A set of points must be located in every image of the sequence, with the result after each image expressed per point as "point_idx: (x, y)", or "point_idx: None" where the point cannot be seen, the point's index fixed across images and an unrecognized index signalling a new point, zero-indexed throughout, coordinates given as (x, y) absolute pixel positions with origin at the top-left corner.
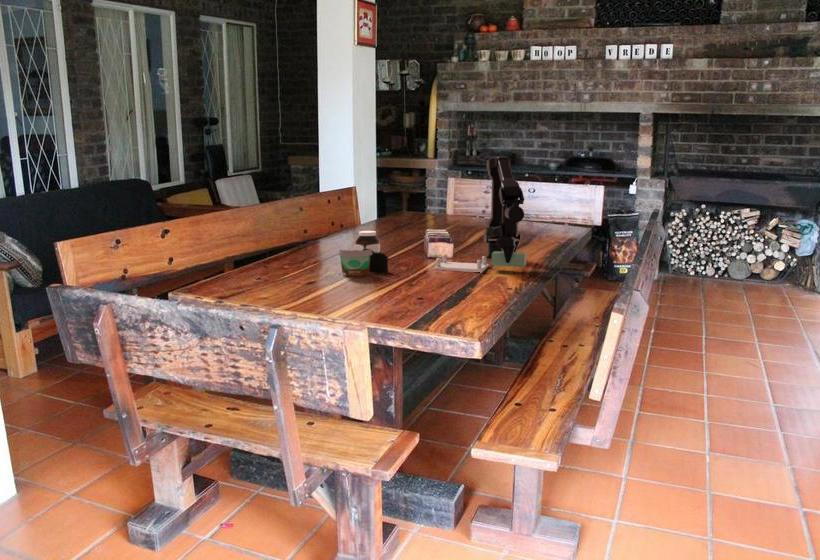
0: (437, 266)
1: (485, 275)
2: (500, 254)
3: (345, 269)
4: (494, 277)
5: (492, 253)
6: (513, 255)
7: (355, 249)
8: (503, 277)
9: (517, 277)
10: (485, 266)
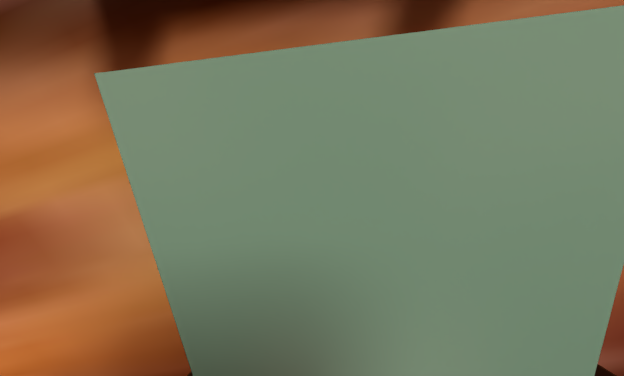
0: None
1: (32, 79)
2: (190, 329)
3: None
4: (2, 201)
5: (108, 105)
6: None
7: None
8: (57, 270)
9: (127, 359)
10: None
